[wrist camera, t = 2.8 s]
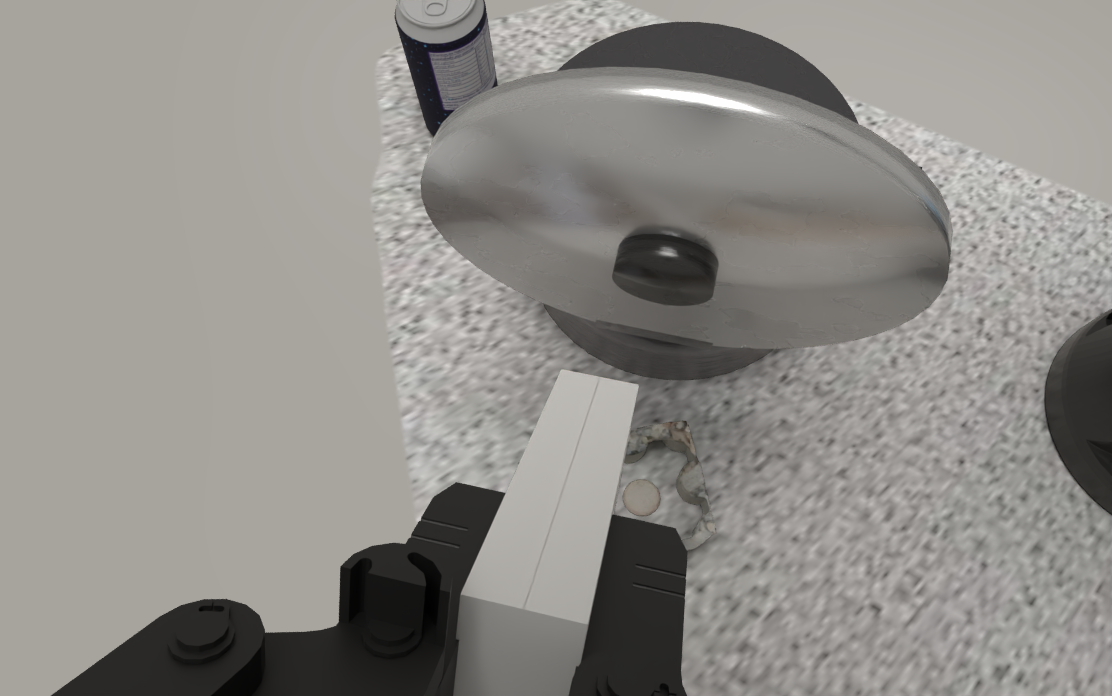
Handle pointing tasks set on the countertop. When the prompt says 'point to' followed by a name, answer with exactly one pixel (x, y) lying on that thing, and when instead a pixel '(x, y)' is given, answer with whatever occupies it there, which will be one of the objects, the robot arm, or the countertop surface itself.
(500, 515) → the robot arm
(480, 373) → the countertop surface
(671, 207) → the lid
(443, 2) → the beverage can
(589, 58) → the cooker pot
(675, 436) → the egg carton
